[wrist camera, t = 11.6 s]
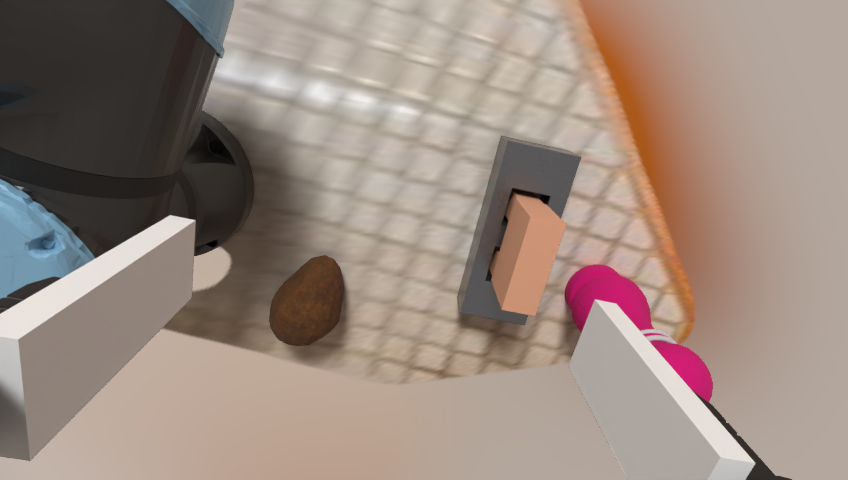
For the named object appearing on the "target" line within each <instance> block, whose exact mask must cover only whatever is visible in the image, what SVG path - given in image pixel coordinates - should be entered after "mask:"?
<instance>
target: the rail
mask: <svg viewBox="0 0 848 480" xmlns="http://www.w3.org/2000/svg"><path fill="white" fill-rule="evenodd" d="M580 160H581V157H580V156H578V155H576V154H574V153H572V152H570V151H567V150H563V149H558V148H554V147H550V146H545V145H541V144H536V143H532V142H527V141H523V140H518V139H514V138H509V137H505V136H501V138H500V142H499V145H498V149H497V153H496V156H495V160H494V164H493V167H492V171H491V175H490V179H489V182H488V186H487V190H486V193H485V197H484V201H483V204H482V208H481V212H480V215H479V219H478V223H477V226H476V230H475V234H474V237H473V241H472V245H471V248H470V252H469V256H468V260H467V263H466V267H465V271H464V274H463V278H462V282H461V285H460V289H459V293H458V296H457V299H458V305H459V310H460V313H463V314H468V315H473V316H479V317H484V318H489V319H495V320H500V321H505V322H510V323H516V324H521V325H525V323H526V320H527V317H528V315H526V314H521V313H516V312H510V311H505V310H502V309H501V307H500V304H499V301H498V298H497V295H496V292H495V290H494V287H493V284H492V281H491V279H492V275H491V272H490V269H489V266H490V262H491V259H492V255H493V252H494V248H495V246H496V247H501V245H502V241H503V238H504V235H505V231H506V228H507V225H508V221H509V220H508V219H507V217H506V216H505V211H506V207H507V204H508V200H509V197H510V193H511V190H512V189H516V190H521V191H525V192H530V193H534V194H535V195H536V196H537V197H538V198H539V199H540V200H541V201H542V202H543V203H544V204H547V205H548V206H549V207H550V208H551V210H552V211H553V212H554V213H555V214H556V215H557V216H558V217H559V218H560V219H561V216H562V213H563V210H564V207H565V204H566V201H567V198H568V195H569V192H570V189H571V186H572V183H573V180H574V177H575V174H576V171H577V168H578V165H579V162H580Z"/></svg>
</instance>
